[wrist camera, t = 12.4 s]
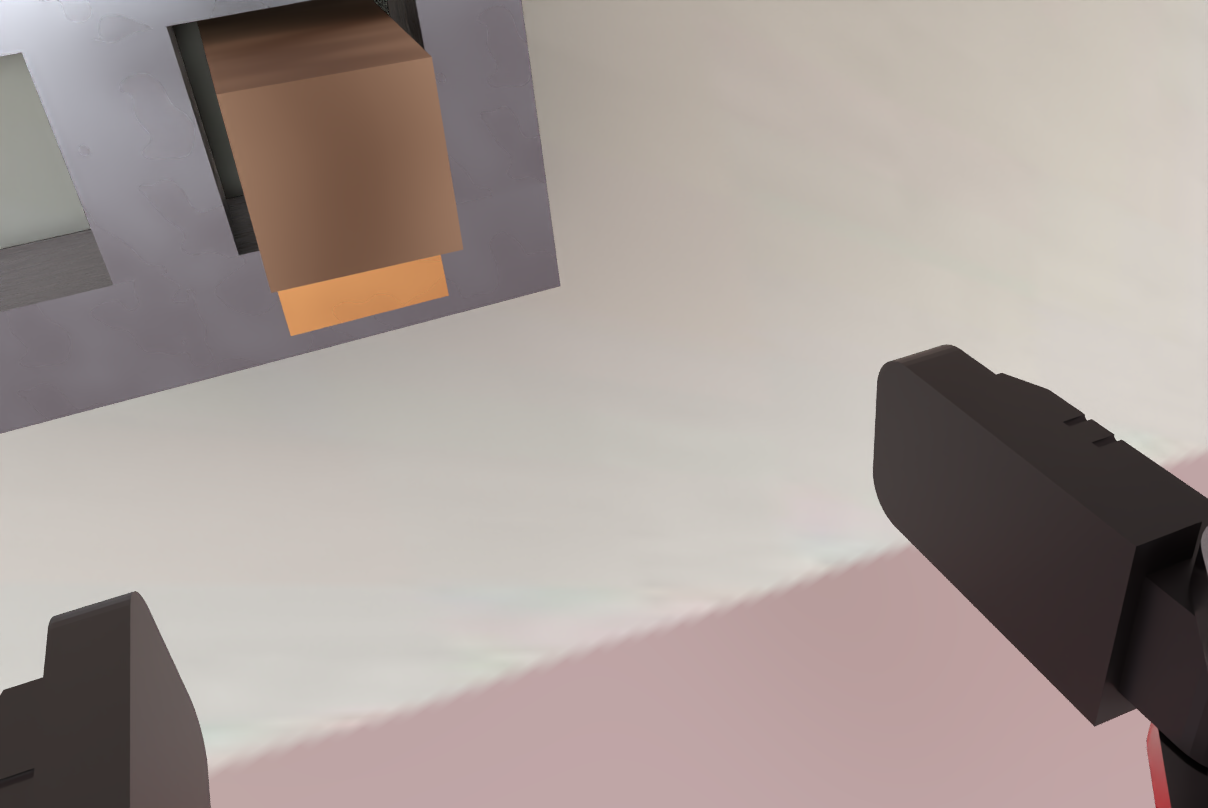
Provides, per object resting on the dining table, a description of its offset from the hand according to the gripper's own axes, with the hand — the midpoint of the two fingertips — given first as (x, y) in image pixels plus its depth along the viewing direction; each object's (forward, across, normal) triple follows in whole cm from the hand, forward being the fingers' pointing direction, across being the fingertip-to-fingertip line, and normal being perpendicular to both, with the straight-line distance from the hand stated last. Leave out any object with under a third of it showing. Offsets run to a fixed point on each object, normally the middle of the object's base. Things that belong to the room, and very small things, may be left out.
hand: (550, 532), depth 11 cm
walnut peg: (+20, 0, 0) cm, 20 cm away
